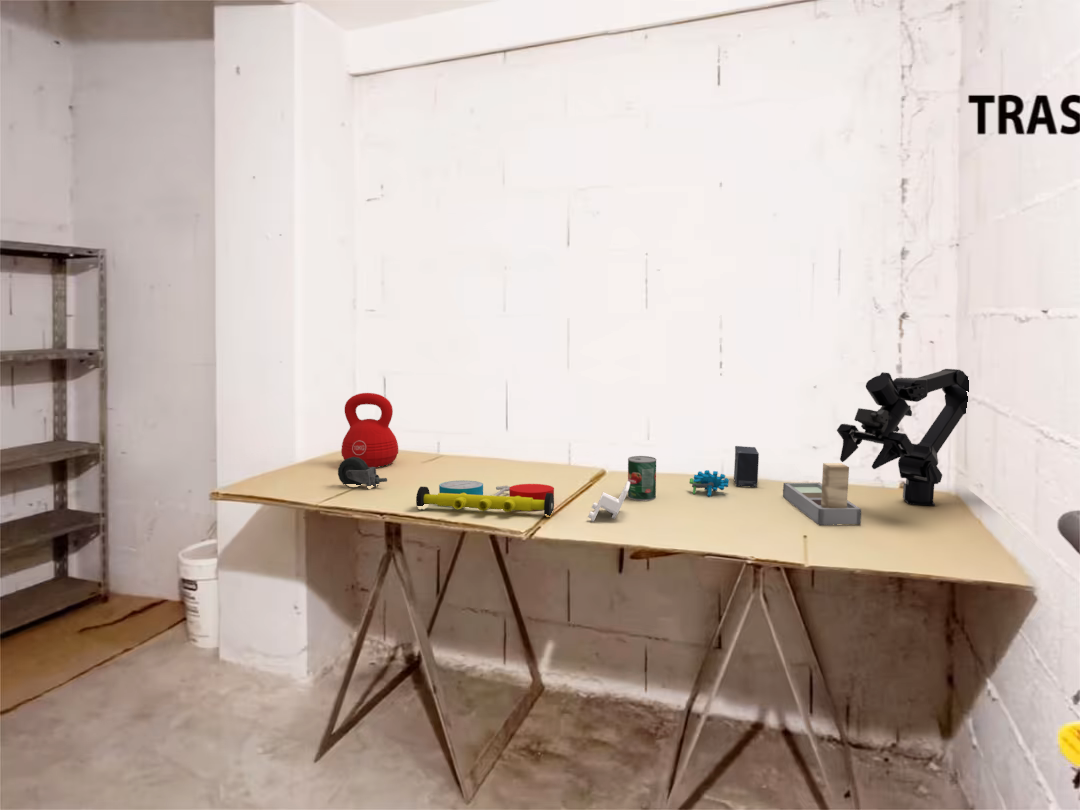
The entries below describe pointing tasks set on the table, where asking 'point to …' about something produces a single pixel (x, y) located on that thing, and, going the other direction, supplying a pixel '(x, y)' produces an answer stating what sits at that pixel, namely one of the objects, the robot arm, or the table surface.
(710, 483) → the blue spiky toy
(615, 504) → the mounting bracket
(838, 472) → the beech block
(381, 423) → the kettlebell
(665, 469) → the table surface
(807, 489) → the tray
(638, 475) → the canned tomato
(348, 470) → the caster wheel
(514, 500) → the hvac manifold gauge set
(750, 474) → the small box
